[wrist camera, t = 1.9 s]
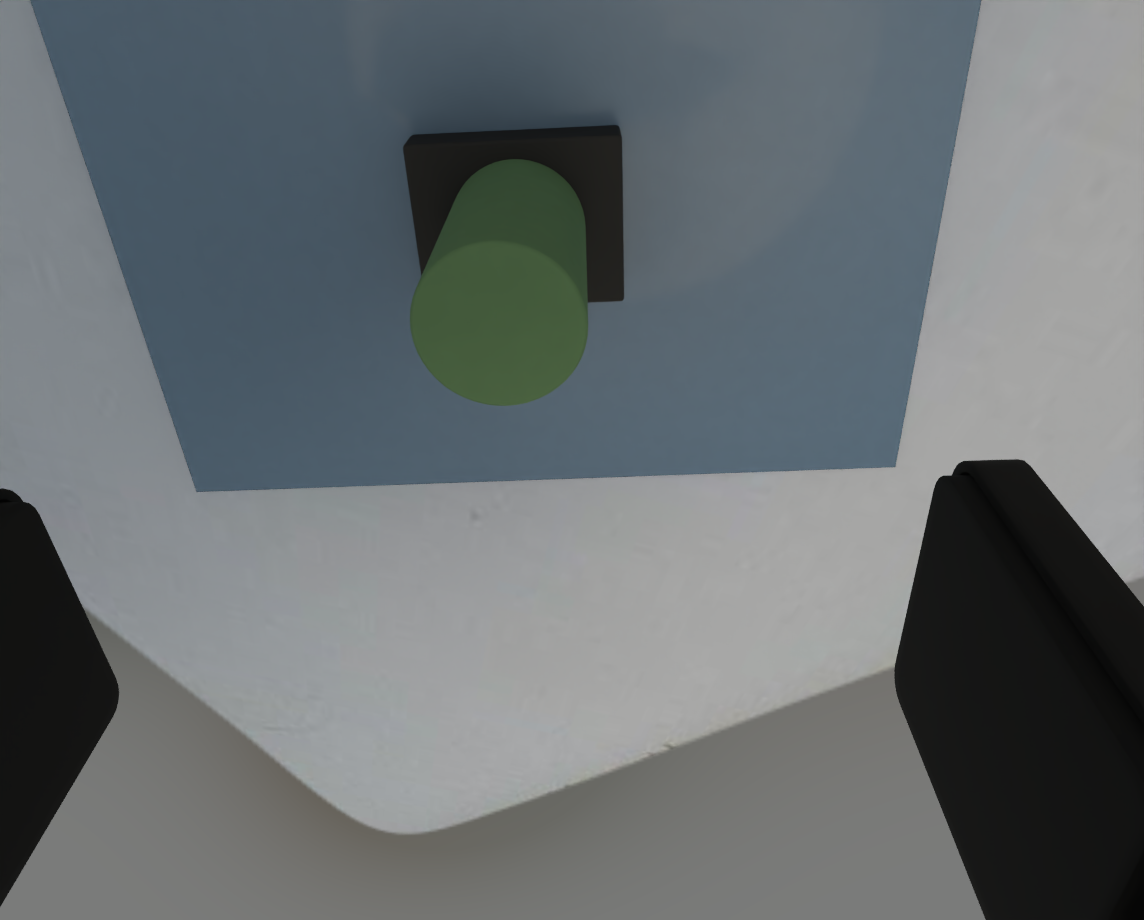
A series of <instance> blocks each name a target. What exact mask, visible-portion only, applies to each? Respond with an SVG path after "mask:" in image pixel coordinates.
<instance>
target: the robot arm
mask: <svg viewBox="0 0 1144 920" xmlns="http://www.w3.org/2000/svg"><path fill="white" fill-rule="evenodd" d="M895 687H896V692H897V696H898V699H899V703H900V705H901V708H902V710H903V713H904V715H905V718H906V720H907V723H908V725H909V728H910V730H911V733H912V735H913V738H914V740H915V743H916V745H917V748H918V750H919V753H920V755H921V758H922V760H923V763H924V765H925V768H926V771H927V773H928V776H929V778H930V780H931V783H932V785H933V788H934V791H935V793H936V796H937V798H938V801H939V803H940V805H941V808H942V811H943V813H944V816H945V818H946V821H947V823H948V826H949V828H950V831H951V833H952V836H953V838H954V841H955V843H956V846H957V849H958V851H959V854H960V856H961V859H962V861H963V863H964V866H965V869H966V871H967V874H968V876H969V879H970V881H971V884H972V886H973V889H974V891H975V894H976V896H977V899H978V901H979V904H980V906H981V909H982V911H983V914H984V916H985V919H986V920H1144V606H1143V605H1142V604H1141V603H1140V601H1139V600H1138V599H1137V598H1136V596H1135V595H1134V594H1133V593H1132V592H1131V590H1130V589H1129V588H1128V586H1127V585H1126V584H1125V583H1124V581H1123V580H1122V579H1121V578H1120V577H1119V575H1118V574H1117V573H1116V572H1115V570H1114V569H1113V568H1112V567H1111V565H1110V564H1109V563H1108V562H1107V560H1106V559H1105V558H1104V557H1103V555H1102V554H1101V553H1100V552H1099V551H1098V549H1097V548H1096V547H1095V546H1094V544H1093V543H1092V542H1091V541H1090V539H1089V538H1088V537H1087V536H1086V534H1085V533H1084V532H1083V531H1082V529H1081V528H1080V527H1079V526H1078V524H1077V523H1076V522H1075V521H1074V520H1073V518H1072V517H1071V516H1070V515H1069V513H1068V512H1067V511H1066V510H1065V508H1064V507H1063V506H1062V505H1061V503H1060V502H1059V501H1058V500H1057V498H1056V497H1055V496H1054V495H1053V494H1052V492H1051V491H1050V490H1049V489H1048V487H1047V486H1046V485H1045V484H1044V482H1043V481H1042V480H1041V479H1040V477H1039V476H1038V475H1037V474H1036V472H1035V471H1034V470H1033V469H1032V467H1031V466H1030V465H1028V464H1027V463H1026V462H1025V461H1023V460H1018V459H1016V460H981V461H963V462H961V463H959V464H958V465H957V466H956V468H955V469H954V471H953V474H952V476H942V477H940V478H939V479H938V481H937V482H936V485H935V488H934V492H933V496H932V501H931V505H930V510H929V514H928V519H927V523H926V528H925V532H924V537H923V541H922V546H921V550H920V555H919V559H918V564H917V568H916V573H915V577H914V582H913V586H912V591H911V595H910V600H909V604H908V609H907V613H906V618H905V623H904V627H903V632H902V636H901V641H900V645H899V650H898V654H897V659H896V663H895ZM118 698H119V689H118V683H117V680H116V678H115V675H114V673H113V671H112V669H111V667H110V665H109V663H108V660H107V658H106V656H105V654H104V652H103V650H102V648H101V646H100V643H99V641H98V639H97V637H96V635H95V633H94V630H93V628H92V626H91V624H90V622H89V620H88V618H87V616H86V613H85V611H84V609H83V607H82V605H81V603H80V601H79V598H78V596H77V594H76V592H75V590H74V588H73V586H72V583H71V581H70V579H69V577H68V575H67V573H66V571H65V568H64V566H63V564H62V562H61V560H60V558H59V556H58V553H57V551H56V549H55V547H54V545H53V543H52V541H51V539H50V536H49V534H48V532H47V530H46V528H45V526H44V524H43V521H42V519H41V517H40V515H39V513H38V512H37V510H36V509H35V507H33V506H32V505H31V504H29V503H26V502H23V501H22V499H21V498H20V497H19V496H18V495H17V494H16V493H14V492H13V491H11V490H7V489H0V906H1V905H2V903H3V901H4V899H5V898H6V896H7V894H8V893H9V891H10V889H11V888H12V886H13V884H14V883H15V881H16V879H17V878H18V876H19V874H20V873H21V871H22V869H23V867H24V866H25V864H26V862H27V861H28V859H29V857H30V856H31V854H32V852H33V850H34V849H35V847H36V846H37V844H38V842H39V841H40V839H41V837H42V835H43V834H44V832H45V830H46V829H47V827H48V825H49V824H50V822H51V820H52V819H53V817H54V815H55V814H56V812H57V810H58V809H59V807H60V805H61V803H62V802H63V800H64V798H65V797H66V795H67V793H68V791H69V790H70V788H71V787H72V785H73V783H74V782H75V780H76V778H77V776H78V775H79V773H80V771H81V770H82V768H83V766H84V765H85V763H86V761H87V760H88V758H89V756H90V755H91V753H92V751H93V750H94V748H95V746H96V744H97V743H98V741H99V739H100V738H101V736H102V734H103V733H104V731H105V729H106V728H107V726H108V724H109V723H110V721H111V719H112V717H113V715H114V713H115V711H116V708H117V704H118Z"/></svg>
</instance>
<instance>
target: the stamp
mask: <svg viewBox="0 0 1144 920" xmlns="http://www.w3.org/2000/svg"><path fill="white" fill-rule="evenodd" d="M403 154H404V161H405V167H406V174H407V181H408V188H409V195H410V202H411V209H412V216H413V222H414V229H415V236H416V243H417V250H418V257H419V264H420V271H421V278H420V280H419V283H418V285H417V287H416V290H415V293H414V295H413V298H412V303H411V308H410V329H411V334H412V339H413V342H414V345H415V348H416V350H417V353H418V355H419V356H420V358H421V360H422V362H423V363H424V365H425V366H426V368H427V369H428V370H429V372H430V373H431V374H432V375H433V376H434V377H435V378H436V379H437V380H438V381H439V382H440V383H441V384H443V385H444V386H445V387H446V388H448V389H449V390H451V391H452V392H454V393H456V394H458V395H460V396H462V397H464V398H466V399H469V400H471V401H474V402H478V403H482V404H487V405H494V406H511V405H519V404H524V403H528V402H531V401H534V400H537V399H539V398H541V397H543V396H545V395H547V394H549V393H550V392H552V391H554V390H555V389H557V388H558V387H559V386H560V385H561V384H563V383H564V382H565V381H566V380H567V379H568V378H569V376H570V375H571V374H572V373H573V371H574V370H575V368H576V367H577V365H578V364H579V362H580V360H581V358H582V356H583V353H584V350H585V347H586V342H587V337H588V303H591V302H615V301H623V299H624V243H623V172H622V136H621V131H620V128H619V126H617V125H607V126H586V127H565V128H544V129H523V130H502V131H481V132H460V133H439V134H417V135H412V136H410V138H409V139H408V140H407V142H406V143H405V144H404V146H403Z"/></svg>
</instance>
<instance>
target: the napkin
mask: <svg viewBox="0 0 1144 920" xmlns="http://www.w3.org/2000/svg"><path fill="white" fill-rule="evenodd" d="M30 1H31V4H32V6H33V9H34V12H35V15H36V18H37V21H38V24H39V27H40V30H41V33H42V36H43V39H44V42H45V45H46V48H47V51H48V54H49V57H50V60H51V63H52V66H53V69H54V72H55V74H56V77H57V80H58V83H59V86H60V89H61V92H62V95H63V98H64V101H65V104H66V107H67V110H68V113H69V116H70V119H71V122H72V125H73V128H74V131H75V134H76V137H77V140H78V142H79V145H80V148H81V151H82V154H83V157H84V160H85V163H86V166H87V169H88V172H89V175H90V178H91V181H92V184H93V187H94V190H95V193H96V196H97V199H98V202H99V205H100V207H101V210H102V213H103V216H104V219H105V222H106V225H107V228H108V231H109V234H110V237H111V240H112V243H113V246H114V249H115V252H116V255H117V258H118V261H119V264H120V267H121V270H122V273H123V275H124V278H125V281H126V284H127V287H128V290H129V293H130V296H131V299H132V302H133V305H134V308H135V311H136V314H137V317H138V320H139V323H140V326H141V329H142V332H143V335H144V338H145V341H146V343H147V346H148V349H149V352H150V355H151V358H152V361H153V364H154V367H155V370H156V373H157V376H158V379H159V382H160V385H161V388H162V391H163V394H164V397H165V400H166V403H167V406H168V408H169V411H170V414H171V417H172V420H173V423H174V426H175V429H176V432H177V435H178V438H179V441H180V444H181V447H182V450H183V453H184V456H185V459H186V462H187V465H188V468H189V471H190V474H191V476H192V479H193V482H194V485H195V488H196V491H197V492H206V491H234V490H262V489H291V488H319V487H347V486H375V485H403V484H431V483H459V482H487V481H515V480H544V479H572V478H600V477H628V476H656V475H684V474H712V473H740V472H769V471H797V470H825V469H853V468H881V467H895V465H896V460H897V454H898V449H899V444H900V438H901V433H902V427H903V422H904V417H905V411H906V406H907V400H908V395H909V389H910V384H911V379H912V373H913V368H914V362H915V357H916V352H917V346H918V341H919V335H920V330H921V324H922V319H923V314H924V308H925V303H926V297H927V292H928V286H929V281H930V276H931V270H932V265H933V259H934V254H935V249H936V243H937V238H938V232H939V227H940V221H941V216H942V211H943V205H944V200H945V194H946V189H947V184H948V178H949V173H950V167H951V162H952V156H953V151H954V146H955V140H956V135H957V129H958V124H959V119H960V113H961V108H962V102H963V97H964V91H965V86H966V81H967V75H968V70H969V64H970V59H971V53H972V48H973V43H974V37H975V32H976V26H977V21H978V16H979V10H980V5H981V0H30ZM607 125H617V126H619V128H620V131H621V136H622V172H623V243H624V299H623V301H615V302H591V303H588V337H587V342H586V347H585V350H584V353H583V356H582V358H581V360H580V362H579V364H578V365H577V367H576V368H575V370H574V371H573V373H572V374H571V375H570V376H569V378H568V379H567V380H566V381H565V382H564V383H563V384H561V385H560V386H559V387H558V388H557V389H555V390H554V391H552V392H550V393H549V394H547V395H545V396H543V397H541V398H539V399H537V400H534V401H531V402H528V403H524V404H519V405H511V406H494V405H487V404H482V403H478V402H474V401H471V400H469V399H466V398H464V397H462V396H460V395H458V394H456V393H454V392H452V391H451V390H449V389H448V388H446V387H445V386H444V385H443V384H441V383H440V382H439V381H438V380H437V379H436V378H435V377H434V376H433V375H432V374H431V373H430V372H429V370H428V369H427V368H426V366H425V365H424V363H423V362H422V360H421V358H420V356H419V355H418V353H417V350H416V348H415V345H414V342H413V339H412V334H411V329H410V308H411V303H412V298H413V295H414V293H415V290H416V287H417V285H418V283H419V280H420V278H421V271H420V264H419V257H418V250H417V243H416V236H415V229H414V222H413V216H412V209H411V202H410V195H409V188H408V181H407V174H406V167H405V161H404V154H403V146H404V144H405V143H406V142H407V140H408V139H409V138H410V136H412V135H417V134H439V133H460V132H481V131H502V130H523V129H544V128H565V127H586V126H607Z"/></svg>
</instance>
